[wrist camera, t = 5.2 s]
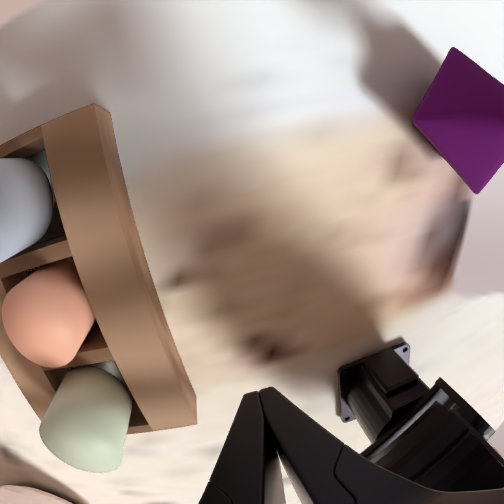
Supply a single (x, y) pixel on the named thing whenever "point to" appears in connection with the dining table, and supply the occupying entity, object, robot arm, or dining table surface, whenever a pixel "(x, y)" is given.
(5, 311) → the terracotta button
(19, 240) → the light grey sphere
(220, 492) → the robot arm
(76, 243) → the wooden compartment tray
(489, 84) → the perfume bottle
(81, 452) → the pale green rounded cube
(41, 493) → the bowl
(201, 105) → the dining table surface
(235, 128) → the dining table surface
